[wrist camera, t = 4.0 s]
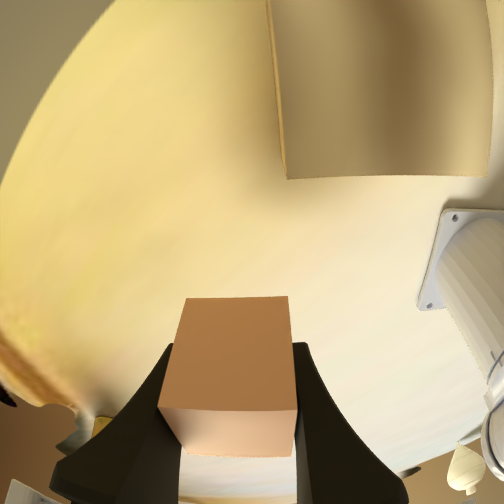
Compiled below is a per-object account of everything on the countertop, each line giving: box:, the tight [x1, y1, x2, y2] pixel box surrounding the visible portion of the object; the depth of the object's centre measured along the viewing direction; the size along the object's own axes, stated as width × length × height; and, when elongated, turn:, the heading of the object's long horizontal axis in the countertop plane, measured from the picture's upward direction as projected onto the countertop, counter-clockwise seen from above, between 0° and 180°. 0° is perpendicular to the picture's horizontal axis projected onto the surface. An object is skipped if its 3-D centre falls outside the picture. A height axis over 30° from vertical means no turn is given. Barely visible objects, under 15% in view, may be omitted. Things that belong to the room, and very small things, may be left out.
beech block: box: [266, 0, 493, 179], centre depth 11 cm, size 10×10×4 cm
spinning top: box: [447, 442, 486, 495], centre depth 34 cm, size 8×8×12 cm
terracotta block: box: [157, 296, 297, 457], centre depth 11 cm, size 4×4×5 cm
